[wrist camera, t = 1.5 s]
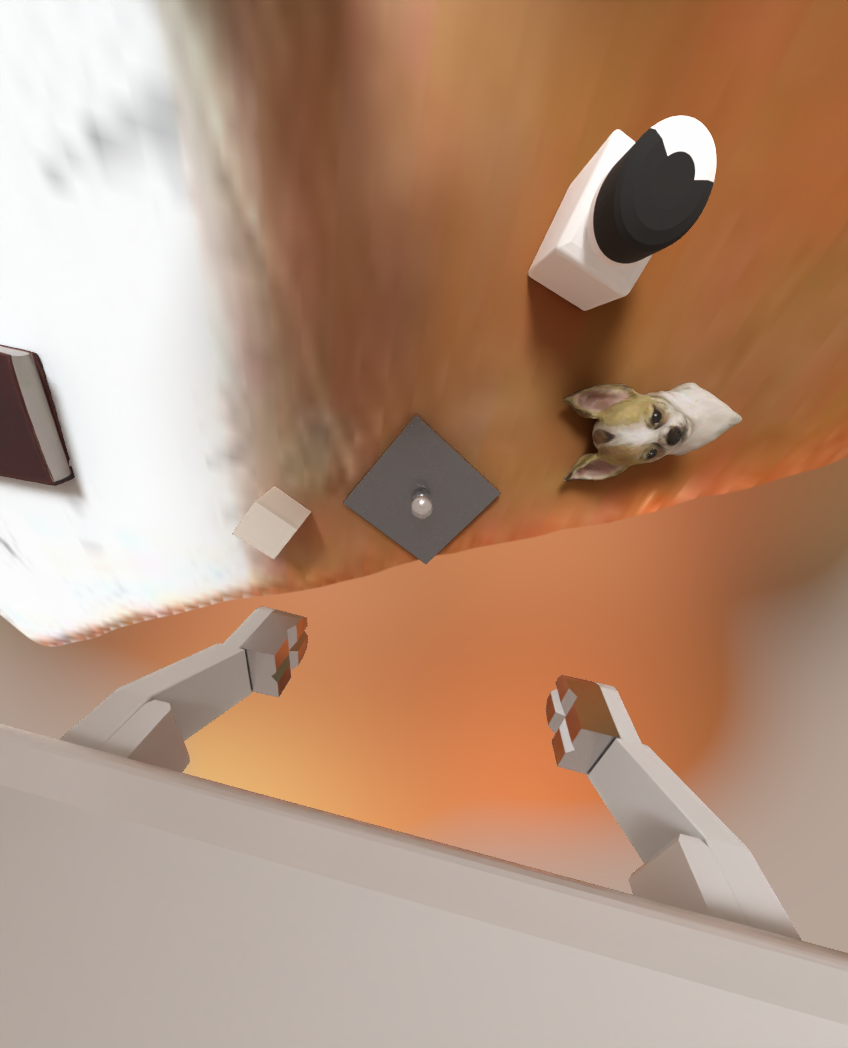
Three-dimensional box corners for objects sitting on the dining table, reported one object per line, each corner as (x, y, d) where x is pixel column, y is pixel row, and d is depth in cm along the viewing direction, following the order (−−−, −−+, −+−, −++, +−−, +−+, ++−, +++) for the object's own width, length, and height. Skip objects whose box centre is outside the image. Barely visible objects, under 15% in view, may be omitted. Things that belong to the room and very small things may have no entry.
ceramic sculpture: (744, 477, 30) (584, 504, 32) (681, 455, 38) (555, 478, 40) (775, 356, 25) (586, 395, 27) (696, 359, 33) (553, 390, 35)
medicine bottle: (584, 313, 31) (673, 281, 20) (525, 275, 30) (587, 220, 19) (633, 228, 28) (765, 139, 17) (570, 183, 27) (672, 55, 16)
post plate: (344, 499, 39) (336, 514, 35) (416, 413, 35) (415, 419, 31) (425, 559, 44) (426, 579, 40) (498, 490, 39) (507, 503, 35)
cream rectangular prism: (253, 515, 40) (232, 533, 36) (274, 485, 38) (254, 501, 34) (289, 538, 42) (273, 559, 37) (311, 511, 40) (297, 529, 35)
